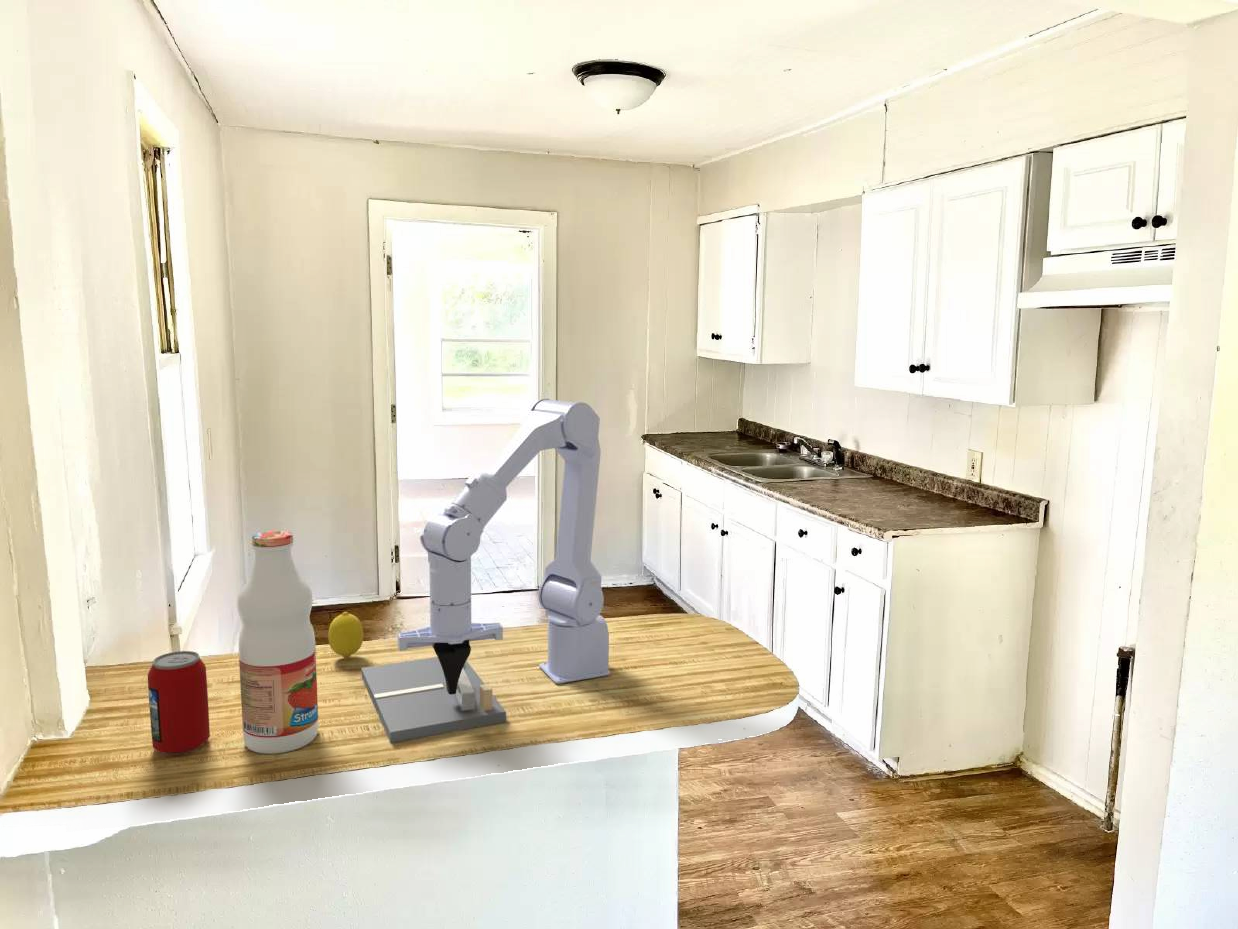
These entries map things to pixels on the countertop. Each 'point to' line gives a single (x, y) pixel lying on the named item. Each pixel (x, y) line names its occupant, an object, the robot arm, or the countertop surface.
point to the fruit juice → (277, 651)
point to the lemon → (345, 635)
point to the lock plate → (426, 700)
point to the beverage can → (178, 702)
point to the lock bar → (465, 692)
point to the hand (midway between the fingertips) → (451, 691)
